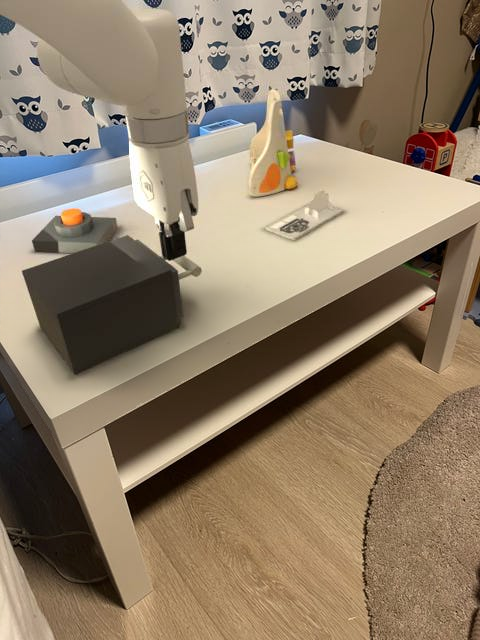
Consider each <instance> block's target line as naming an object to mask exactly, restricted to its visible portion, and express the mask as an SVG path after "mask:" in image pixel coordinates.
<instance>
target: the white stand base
mask: <svg viewBox="0 0 480 640" xmlns="http://www.w3.org/2000/svg"><path fill="white" fill-rule="evenodd" d="M325 191H326V190H323V189H322V190H320V191H318V192H317V193H315V195H314V197H313V200H311V201H310V202H309V203H308V204H307V205H305V206H303V207H301V208H299V209H298V210H296V211H294V212H292V213H290V214H288V215H286V216H284V217H282V218H280V219H279V220H276V221H275V222H273V223H271V224H269V225H267V226H266V227H265V231H267V232H270V233H272V234H276V235H278V236H281V237H283V238H286V239H287V240H291V241H293V242H294V241H296V240H298V239H300V238H301V237H303V236H304V235H306V234H308V233H310V232H311V231H313V230H315V229H316V228H318V227H320V226H322V225H323V224H325V223H327V222H329V221H330V220H332V219H334V218H336V217H337V216H339V215H340V214H343V211H344V210H343V209H340V208H337V207H334V206H333V203H332V202H330V201H329V198H330V195H329V193H328V192H325Z"/></svg>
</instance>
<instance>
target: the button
mask: <svg viewBox="0 0 480 640" xmlns="http://www.w3.org/2000/svg"><path fill="white" fill-rule="evenodd" d="M82 212H83V211H82V209H80V208H76V207H75V208H67V209H64V210H63V211H61V213H60V216H61V217H62V221H63V224H64V225H75V224H79V223H81V222H83V215H82Z"/></svg>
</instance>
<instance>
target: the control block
mask: <svg viewBox="0 0 480 640" xmlns="http://www.w3.org/2000/svg"><path fill="white" fill-rule="evenodd" d="M82 215H83V222H81V223H79V224H75V225H64V224H63V221H62V217H61V215H55V216H54V217H53V218H52V219H51V220H50V221H48V223H47V224H46V225H45V226H44V227H43V228H42V229H41V230H40V231H39V232H38V234H36V235H35V237H33V238H32V240H31V244H32V246H33V250H34V252H37V253H56V254H57V253H59V254H73V253H76V252H79V251H82V250H84V249H87V248H90V247H93V246H96V245H99V244H102V243H105V242H108V241H111V238H112V237H113V236H114V235H115V233H116V231H117V230H118V229H119V228H118V222H117V218H116V217H103V216H100V217H99V216H92V215H91V214H90V213H87V212H84V211H82Z"/></svg>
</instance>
